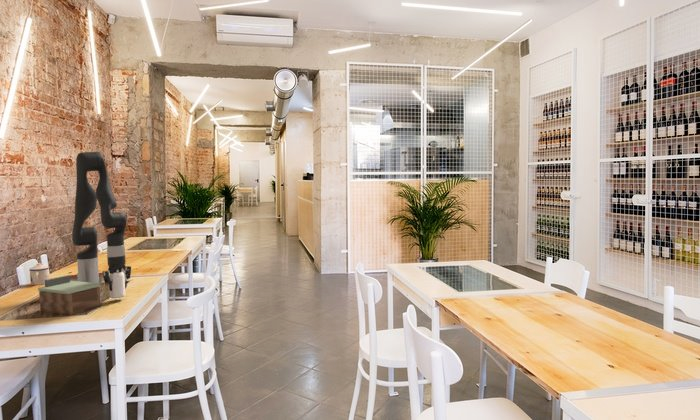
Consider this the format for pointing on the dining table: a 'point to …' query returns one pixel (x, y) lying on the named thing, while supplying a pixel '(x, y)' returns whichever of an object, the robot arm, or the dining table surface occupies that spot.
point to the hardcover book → (74, 277)
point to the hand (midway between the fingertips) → (118, 290)
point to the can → (117, 285)
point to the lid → (66, 285)
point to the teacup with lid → (39, 274)
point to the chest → (70, 301)
